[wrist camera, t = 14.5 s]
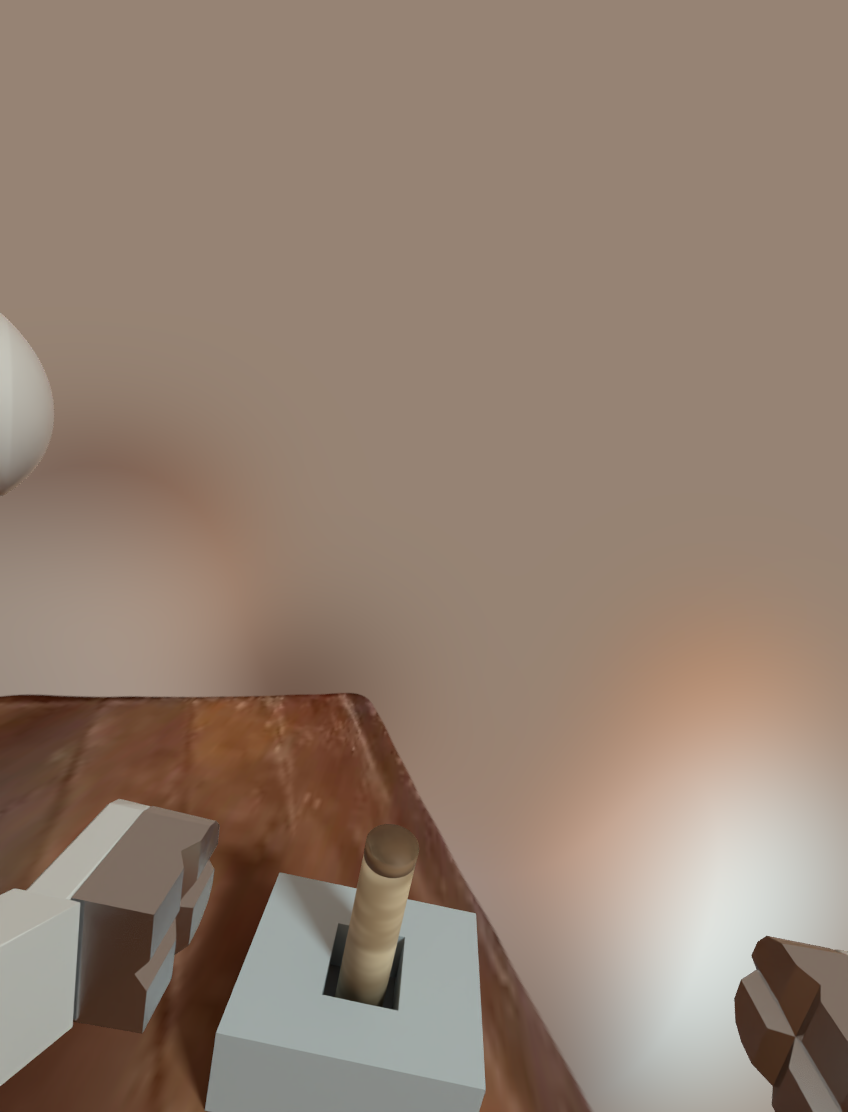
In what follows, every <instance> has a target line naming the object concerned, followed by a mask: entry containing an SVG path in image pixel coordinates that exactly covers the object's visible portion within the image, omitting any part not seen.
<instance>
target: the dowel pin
mask: <svg viewBox="0 0 848 1112" xmlns="http://www.w3.org/2000/svg"><path fill="white" fill-rule="evenodd" d="M418 852H419V844H418V841H417V839H416V838H415V836H414V835H413V834H412V833H411V832H410V831H408V830H407V829H405V828H403V827H401V826H398V825H393V824H384V825H380V826H377V827H375V828H373V829H372V830H371V831H370V832H369V834H368V836H367V839H366V844H365V849H364V856H363V860H362V865H361V870H360V875H359V880H358V885H357V890H356V895H355V900H354V905H353V910H352V914H351V919H350V924H349V929H348V934H347V939H346V944H345V949H344V954H343V959H342V964H341V968H340V973H339V978H338V983H337V988H336V993H335V998H340V999H345V1000H350V1001H354V1002H359V1003H364V1004H369V1005H373V1006H378V1007H383V1003H384V998H385V994H386V990H387V985H388V981H389V977H390V972H391V968H392V964H393V959H394V955H395V951H396V946H397V942H398V938H399V933H400V929H401V924H402V920H403V916H404V911H405V907H406V903H407V898H408V894H409V890H410V885H411V881H412V877H413V872H414V868H415V865H416V861H417V857H418Z"/></svg>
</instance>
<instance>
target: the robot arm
mask: <svg viewBox="0 0 848 1112" xmlns="http://www.w3.org/2000/svg"><path fill="white" fill-rule="evenodd" d="M53 424H54V404H53V396H52V392H51V388H50V384H49V381H48V378H47V376H46V373H45V371H44V368H43V366H42V364H41V362H40V361H39V359H38V357H37V355H36V354H35V352H34V351H33V349H32V348H31V346H30V345H29V343H28V342H27V341H26V339H25V338H24V337H23V336H22V334H21V333H20V332H19V331H18V329H17V328H16V327H15V326H14V325H13V324H12V323H11V322H9V320H8V319H7V318H6V317H5V316H3V315H2V314H1V313H0V496H3V495H5V494H7V493H8V492H9V491H11V490H13V489H14V488H16V487H17V486H18V485H19V484H20V483H22V481H24V480H25V479H26V478H27V477H28V476H29V475H30V474H31V472H33V470H34V469H35V468H36V466H37V465H38V464H39V462H40V461H41V459H42V458H43V456H44V454H45V451H46V450H47V447H48V444H49V442H50V439H51V436H52V431H53ZM218 836H219V824H218V823H217V821H214V820H209V819H205V818H201V817H197V816H193V815H188V814H184V813H180V812H176V811H171V810H167V809H163V808H159V807H155V806H152V807H150V806H146V805H142V804H138V803H134V802H130V801H126V800H122V799H118V800H116V801H114V802H112V803H110V804H108V805H107V806H106V807H105V808H104V809H103V810H102V811H101V812H100V813H99V814H98V815H97V817H96V818H95V819H94V820H93V821H92V822H91V823H90V824H89V825H88V826H87V827H86V828H85V829H84V830H83V831H82V832H81V833H80V834H79V835H78V836H77V837H76V839H75V840H74V841H73V842H72V843H71V844H70V845H69V846H68V847H67V848H66V849H65V850H64V851H63V852H62V853H61V854H60V855H59V856H58V857H57V858H56V859H55V860H54V862H53V863H52V864H51V865H50V866H49V867H48V868H47V869H46V870H45V871H44V872H43V873H42V874H41V875H40V876H39V877H38V878H37V879H36V880H35V881H34V882H33V884H32V885H31V886H30V887H29V888H28V889H27V890H21V889H15V888H14V889H12V890H10V891H8V892H6V893H3V894H1V895H0V1086H1V1085H2V1084H3V1083H5V1082H6V1081H7V1080H8V1079H10V1078H11V1077H12V1076H13V1075H14V1074H16V1073H17V1072H18V1071H19V1070H21V1069H22V1068H23V1067H24V1066H25V1065H27V1064H28V1063H29V1062H30V1061H32V1060H33V1059H34V1058H35V1057H36V1056H38V1055H39V1054H40V1053H41V1052H43V1051H44V1050H45V1049H46V1048H47V1047H49V1046H50V1045H51V1044H52V1043H54V1042H55V1041H56V1040H57V1039H58V1038H60V1037H61V1036H62V1035H63V1034H65V1033H66V1032H67V1031H68V1030H69V1029H71V1028H72V1026H73V1022H78V1023H84V1024H90V1025H95V1026H101V1027H107V1028H113V1029H118V1030H124V1031H130V1032H136V1033H141V1034H142V1033H143V1031H144V1029H145V1027H146V1026H147V1024H148V1022H149V1020H150V1018H151V1016H152V1014H153V1012H154V1010H155V1008H156V1007H157V1005H158V1003H159V1001H160V999H161V997H162V995H163V993H164V991H165V989H166V988H167V986H168V984H169V982H170V980H171V978H172V970H173V962H174V955H175V954H177V953H178V952H180V951H181V950H182V949H184V948H185V947H187V946H188V945H189V944H190V942H191V940H192V938H193V936H194V934H195V932H196V930H197V928H198V926H199V923H200V921H201V918H202V915H203V913H204V910H205V908H206V905H207V902H208V899H209V895H210V891H211V887H212V883H213V876H214V868H213V866H212V864H211V863H210V861H209V858H210V857H211V855H212V853H213V851H214V850H215V848H216V846H217V844H218ZM752 958H753V961H754V964H755V966H756V969H757V970H755V971H754V972H752V973H751V974H749V975H748V976H746V977H745V978H743V979H742V980H741V982H740V985H739V987H738V990H737V993H736V996H735V998H734V999H735V1019H736V1025H737V1028H738V1032H739V1035H740V1039H741V1042H742V1044H743V1046H744V1048H745V1050H746V1053H747V1055H748V1057H749V1059H750V1061H751V1063H752V1064H753V1066H754V1067H755V1068H757V1070H758V1071H759V1072H760V1073H761V1074H762V1075H763V1076H764V1077H765V1078H766V1079H767V1080H768V1081H769V1083H770V1084H771V1085H772V1086H773V1093H772V1106H773V1108H774V1110H775V1112H848V951H842V950H833V949H830V948H825V947H820V946H815V945H810V944H805V943H800V942H795V941H790V940H785V939H780V938H775V937H770V936H766V937H764V938H763V939H761V940H760V941H758V942H757V944H756V947H755V949H754V951H753V953H752Z"/></svg>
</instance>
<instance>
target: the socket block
mask: <svg viewBox="0 0 848 1112" xmlns="http://www.w3.org/2000/svg"><path fill="white" fill-rule="evenodd" d="M356 890H357V889H356V888H351V887H346V886H342V885H337V884H332V883H327V882H323V881H318V880H313V879H308V878H304V877H299V876H294V875H289V874H285V873H279V875H278V878H277V880H276V883H275V885H274V888H273V890H272V893H271V895H270V898H269V901H268V903H267V906H266V908H265V911H264V913H263V916H262V918H261V921H260V923H259V926H258V928H257V931H256V933H255V936H254V938H253V941H252V943H251V946H250V948H249V951H248V953H247V956H246V958H245V961H244V964H243V966H242V969H241V971H240V974H239V976H238V979H237V981H236V984H235V986H234V989H233V991H232V994H231V996H230V999H229V1001H228V1004H227V1006H226V1009H225V1011H224V1014H223V1016H222V1019H221V1021H220V1024H219V1027H218V1029H217V1032H216V1036H215V1043H214V1050H213V1057H212V1064H211V1071H210V1078H209V1085H208V1092H207V1099H206V1106H205V1111H210V1112H479V1110H480V1106H481V1103H482V1100H483V1097H484V1093H485V1090H486V1089H485V1071H484V1052H483V1034H482V1016H481V998H480V980H479V962H478V944H477V926H476V914H475V913H470V912H465V911H461V910H456V909H451V908H446V907H442V906H437V905H432V904H427V903H423V902H418V901H413V900H408V899H407V903H406V907H405V911H404V916H403V920H402V924H401V929H400V933H399V938H398V942H397V946H396V951H395V955H394V959H393V964H392V968H391V972H390V977H389V981H388V985H387V990H386V994H385V998H384V1003H383V1007H378V1006H373V1005H369V1004H364V1003H359V1002H354V1001H350V1000H345V999H340V998H335V993H336V988H337V983H338V978H339V973H340V968H341V964H342V959H343V954H344V949H345V944H346V939H347V934H348V929H349V924H350V919H351V914H352V910H353V905H354V900H355V895H356Z"/></svg>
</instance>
